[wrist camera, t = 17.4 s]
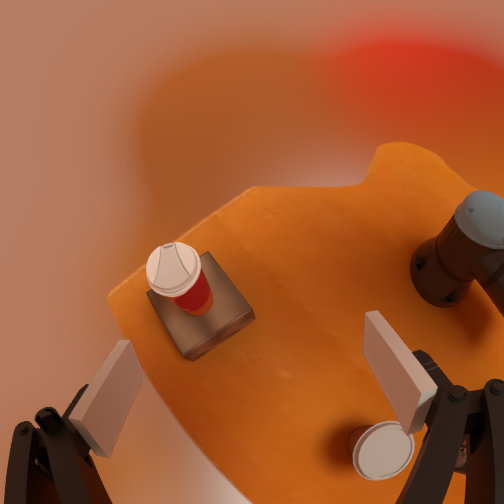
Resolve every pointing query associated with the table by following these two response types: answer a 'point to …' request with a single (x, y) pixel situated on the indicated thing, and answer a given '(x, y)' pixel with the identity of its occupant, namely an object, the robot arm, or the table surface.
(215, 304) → the walnut box
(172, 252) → the paper cup
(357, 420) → the table surface
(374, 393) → the table surface
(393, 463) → the disposable coffee cup
